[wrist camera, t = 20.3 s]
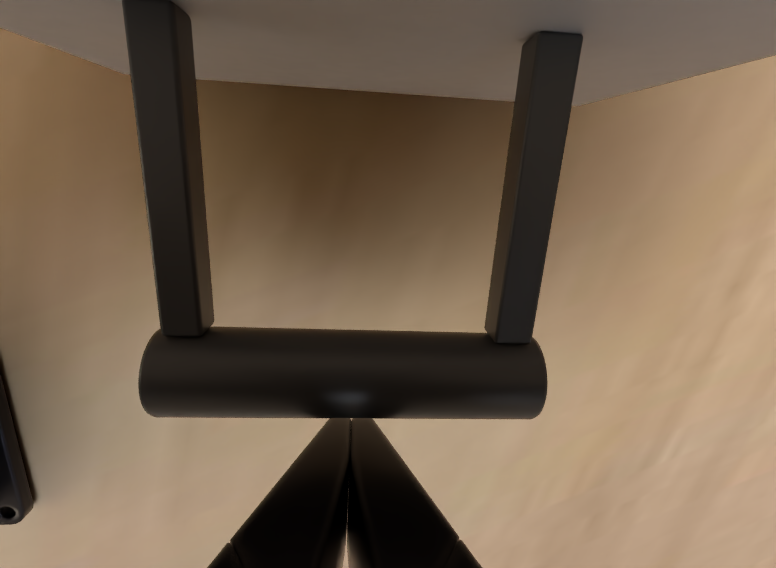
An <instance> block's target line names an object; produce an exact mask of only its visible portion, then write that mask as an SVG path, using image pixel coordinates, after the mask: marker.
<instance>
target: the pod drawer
mask: <svg viewBox="0 0 776 568" xmlns="http://www.w3.org/2000/svg"><path fill="white" fill-rule="evenodd" d="M0 28H2V29H5V30H7V31H10V32H13V33H15V34H18V35H21V36H23V37H26V38H29V39H31V40H34V41H37V42H39V43H42V44H45V45H47V46H50V47H53V48H55V49H58V50H61V51H63V52H66V53H69V54H71V55H74V56H77V57H79V58H82V59H85V60H87V61H90V62H93V63H95V64H98V65H101V66H103V67H106V68H109V69H111V70H114V71H117V72H119V73H122V74H129V75H131V83H132V92H133V100H134V108H135V117H136V125H137V134H138V142H139V150H140V159H141V167H142V176H143V184H144V192H145V201H146V209H147V217H148V226H149V234H150V243H151V251H152V259H153V268H154V276H155V285H156V293H157V301H158V310H159V318H160V326H161V329H159V330H157V331H156V332H155V333H154V334H153V336H152V337H151V339H150V340H149V342H148V344H147V346H146V348H145V351H144V354H143V357H142V360H141V365H140V370H139V396H140V400H141V404H142V406H143V408H144V410H145V411H146V412H147V413H148V414H150V415H152V416H154V417H206V418H401V419H532V418H535V417H536V416H538V415H539V414H540V413H541V411H542V409H543V407H544V404H545V400H546V395H547V370H546V364H545V360H544V356H543V353H542V350H541V348H540V346H539V344H538V343H537V341H536V340H535V339H534V338H533V337H532V333H533V328H534V322H535V316H536V310H537V304H538V298H539V293H540V287H541V281H542V275H543V269H544V263H545V258H546V252H547V246H548V240H549V234H550V229H551V223H552V217H553V211H554V205H555V199H556V194H557V188H558V182H559V176H560V170H561V164H562V159H563V153H564V147H565V141H566V135H567V129H568V124H569V118H570V112H571V106H581V105H585V104H589V103H593V102H597V101H601V100H604V99H608V98H612V97H616V96H620V95H624V94H628V93H631V92H635V91H639V90H643V89H647V88H651V87H655V86H658V85H662V84H666V83H670V82H674V81H678V80H682V79H685V78H689V77H693V76H697V75H701V74H705V73H708V72H712V71H716V70H720V69H724V68H728V67H732V66H735V65H739V64H743V63H747V62H751V61H755V60H759V59H762V58H766V57H770V56H774V55H776V0H0ZM196 79H200V80H214V81H228V82H242V83H257V84H271V85H285V86H299V87H313V88H327V89H341V90H356V91H370V92H384V93H398V94H412V95H426V96H441V97H455V98H469V99H483V100H497V101H511V102H515V103H514V111H513V118H512V126H511V133H510V141H509V148H508V156H507V163H506V171H505V178H504V186H503V193H502V201H501V208H500V216H499V223H498V231H497V238H496V245H495V253H494V260H493V268H492V275H491V283H490V290H489V298H488V305H487V313H486V320H485V330H486V331H487V333H467V332H423V331H379V330H335V329H291V328H247V327H210V326H211V325H212V324H213V322H214V310H213V297H212V284H211V271H210V258H209V245H208V232H207V220H206V207H205V194H204V181H203V168H202V155H201V142H200V129H199V116H198V103H197V90H196Z"/></svg>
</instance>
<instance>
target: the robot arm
mask: <svg viewBox="0 0 776 568" xmlns="http://www.w3.org/2000/svg"><path fill="white" fill-rule="evenodd" d="M350 439H351V440H350ZM348 489H349V492H348ZM32 508H33V500H32V497H31V493H30V489H29V485H28V481H27V477H26V473H25V469H24V465H23V461H22V457H21V453H20V449H19V445H18V441H17V437H16V433H15V429H14V425H13V422H12V418H11V414H10V410H9V406H8V402H7V398H6V394H5V390H4V386H3V382H2V378H1V374H0V525H5V524H16V523H18V522H20V521H21V520H22V519H23V518H24V517H25V516H26V515H27V514H28V513H29V512H30V511H31V509H32ZM347 513H348V519H347ZM346 533H347V549H348V564H349V568H482V567H481V566H480V564H479V563H478V562H477V560H476V559H475V558H474V556H473V555H472V554H471V552H470V551H469V550H468V548H467V547H466V545H465V544H464V543H463V541H462V540H459V536H458V535H457V533H456V532H455V531H454V529H453V528H452V527H451V525H450V524H449V522H448V521H447V520H446V518H445V517H444V516H443V514H442V513H441V512H440V510H439V509H438V507H437V506H436V505H435V503H434V502H433V501H432V499H431V498H430V496H429V495H428V494H427V492H426V491H425V490H424V488H423V487H422V486H421V484H420V483H419V481H418V480H417V479H416V477H415V476H414V475H413V473H412V472H411V471H410V469H409V468H408V466H407V465H406V464H405V462H404V461H403V460H402V458H401V457H400V456H399V454H398V453H397V451H396V450H395V449H394V447H393V446H392V445H391V443H390V442H389V441H388V439H387V438H386V436H385V435H384V434H383V432H382V431H381V430H380V428H379V427H378V425H377V424H376V423H375V421H374V420H373V419H372V418H353V419H352V421H351V419H350V418H330V419H329V420H328V421H327V422H326V424H325V425H324V426H323V427H322V428H321V430H320V431H319V432H318V433H317V435H316V436H315V437H314V438H313V439H312V441H311V442H310V443H309V444H308V446H307V447H306V448H305V449H304V450H303V452H302V453H301V454H300V455H299V457H298V458H297V459H296V460H295V461H294V463H293V464H292V465H291V466H290V468H289V469H288V470H287V471H286V472H285V474H284V475H283V476H282V477H281V479H280V480H279V481H278V482H277V483H276V485H275V486H274V487H273V488H272V490H271V491H270V492H269V493H268V494H267V496H266V497H265V498H264V499H263V501H262V502H261V503H260V504H259V505H258V507H257V508H256V509H255V510H254V512H253V513H252V514H251V515H250V517H249V518H248V519H247V520H246V521H245V523H244V524H243V525H242V526H241V528H240V529H239V530H238V531H237V532H236V534H235V535H234V536H233V537H232V539H231V540H230V543H227V544H226V545H225V547H224V548H223V549H222V550H221V552H220V553H219V554H218V555H217V557H216V558H215V559H214V560H213V561H212V563H211V564H210V565H209V566H208V567H207V568H342V566H343V560H344V553H345V545H346Z"/></svg>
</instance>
